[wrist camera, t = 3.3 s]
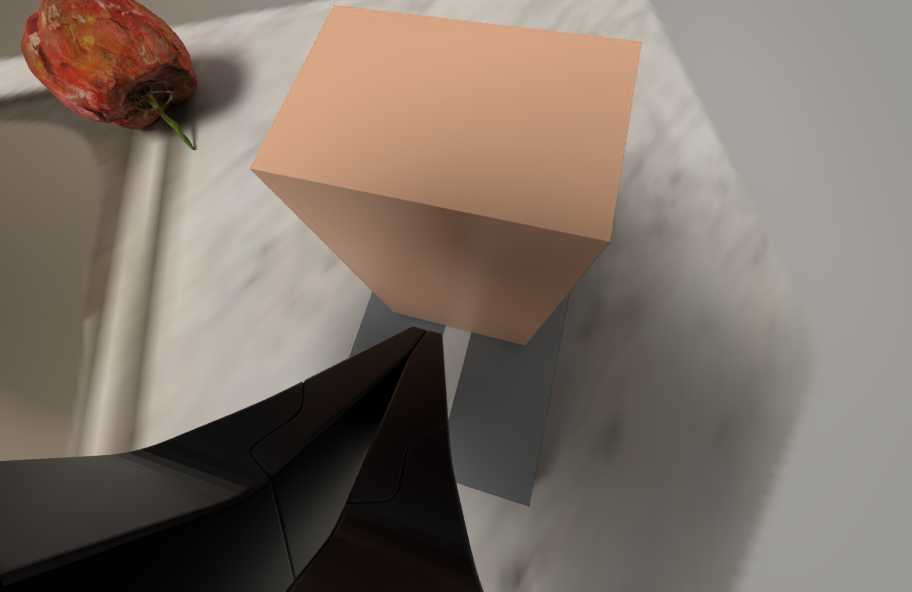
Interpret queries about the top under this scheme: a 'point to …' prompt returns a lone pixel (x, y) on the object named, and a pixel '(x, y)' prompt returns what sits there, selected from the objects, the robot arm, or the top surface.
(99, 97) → the pomegranate
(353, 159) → the fader knob
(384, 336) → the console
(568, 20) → the top surface
